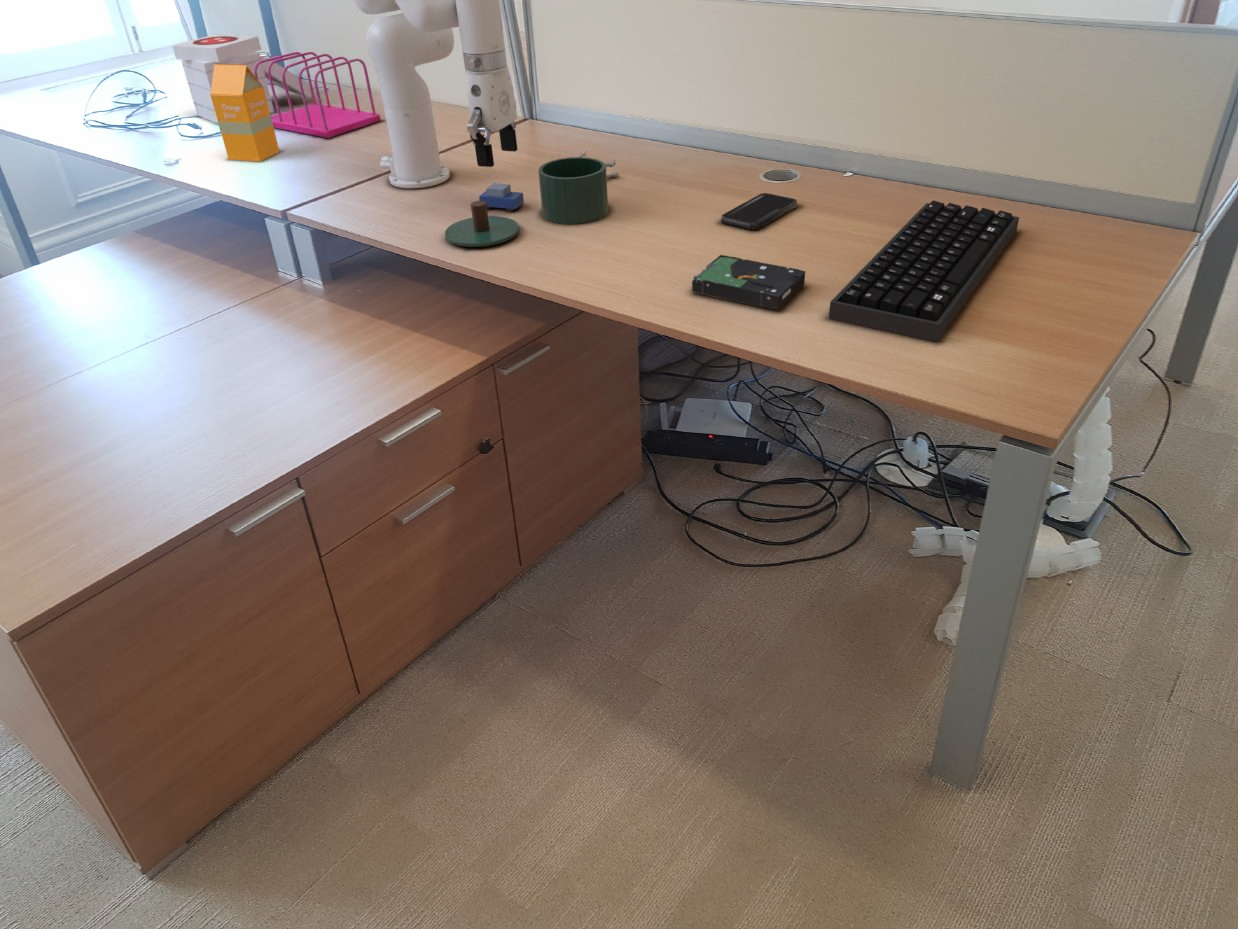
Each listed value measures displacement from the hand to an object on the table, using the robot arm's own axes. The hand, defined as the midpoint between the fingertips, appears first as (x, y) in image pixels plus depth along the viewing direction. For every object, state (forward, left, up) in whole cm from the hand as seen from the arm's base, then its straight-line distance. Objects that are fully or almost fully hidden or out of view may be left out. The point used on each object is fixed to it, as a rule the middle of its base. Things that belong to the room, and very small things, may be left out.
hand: (498, 158), depth 176 cm
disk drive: (+55, -24, -10) cm, 60 cm away
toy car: (0, 0, -10) cm, 10 cm away
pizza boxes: (-101, +52, -10) cm, 114 cm away
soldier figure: (+11, +18, -10) cm, 23 cm away
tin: (+15, +1, -10) cm, 17 cm away
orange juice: (-73, +17, -10) cm, 76 cm away
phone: (+49, +8, -10) cm, 50 cm away
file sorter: (-73, +44, -10) cm, 86 cm away
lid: (+3, -14, -9) cm, 17 cm away
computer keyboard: (+81, -10, -10) cm, 82 cm away
